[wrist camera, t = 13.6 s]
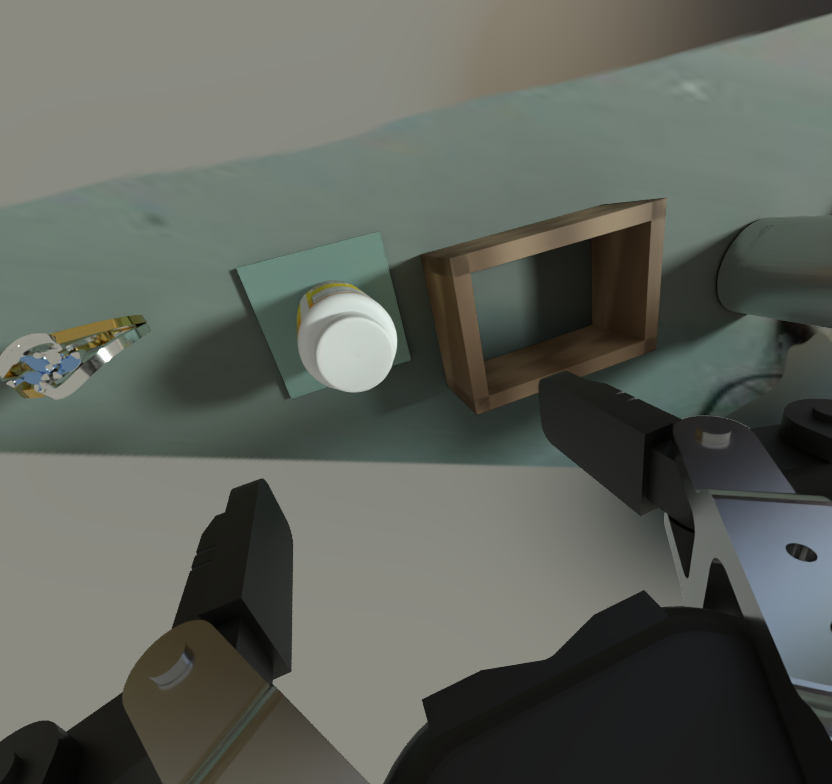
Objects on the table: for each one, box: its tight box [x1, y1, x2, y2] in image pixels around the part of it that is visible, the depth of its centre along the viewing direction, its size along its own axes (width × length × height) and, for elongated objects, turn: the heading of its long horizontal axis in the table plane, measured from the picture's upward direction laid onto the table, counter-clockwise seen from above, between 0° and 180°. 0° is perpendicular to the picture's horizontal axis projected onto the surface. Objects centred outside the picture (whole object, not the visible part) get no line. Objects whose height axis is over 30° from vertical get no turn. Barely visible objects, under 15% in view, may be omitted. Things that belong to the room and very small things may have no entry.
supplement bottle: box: [296, 281, 397, 392], centre depth 23 cm, size 6×6×10 cm
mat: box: [236, 231, 411, 399], centre depth 28 cm, size 10×10×1 cm
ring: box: [0, 315, 151, 399], centre depth 21 cm, size 7×3×8 cm, turn 107°
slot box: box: [421, 198, 667, 415], centre depth 29 cm, size 16×11×6 cm
